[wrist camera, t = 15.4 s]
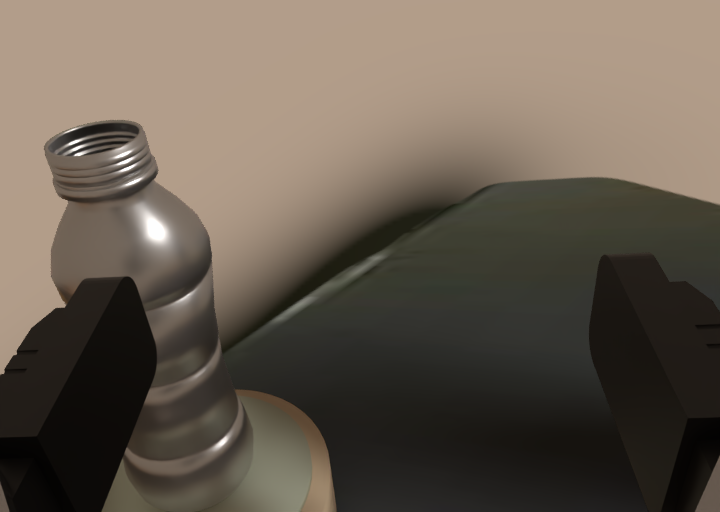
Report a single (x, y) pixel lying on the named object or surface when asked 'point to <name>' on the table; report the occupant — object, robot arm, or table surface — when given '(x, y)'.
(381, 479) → the table surface
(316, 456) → the wooden stand
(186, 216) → the plastic bottle
